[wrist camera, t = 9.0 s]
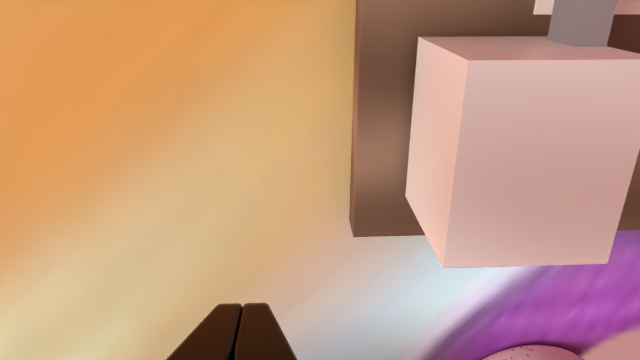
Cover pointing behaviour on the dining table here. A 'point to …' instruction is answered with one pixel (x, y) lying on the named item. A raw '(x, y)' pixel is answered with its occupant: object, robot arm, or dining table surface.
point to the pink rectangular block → (525, 142)
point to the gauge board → (398, 90)
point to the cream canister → (534, 353)
